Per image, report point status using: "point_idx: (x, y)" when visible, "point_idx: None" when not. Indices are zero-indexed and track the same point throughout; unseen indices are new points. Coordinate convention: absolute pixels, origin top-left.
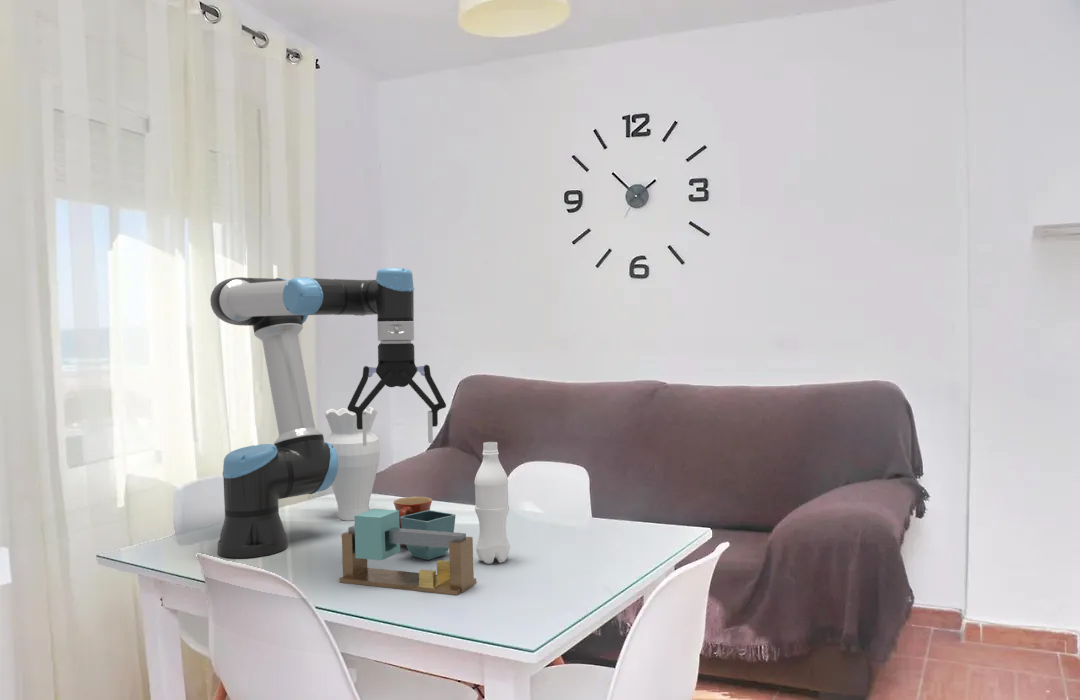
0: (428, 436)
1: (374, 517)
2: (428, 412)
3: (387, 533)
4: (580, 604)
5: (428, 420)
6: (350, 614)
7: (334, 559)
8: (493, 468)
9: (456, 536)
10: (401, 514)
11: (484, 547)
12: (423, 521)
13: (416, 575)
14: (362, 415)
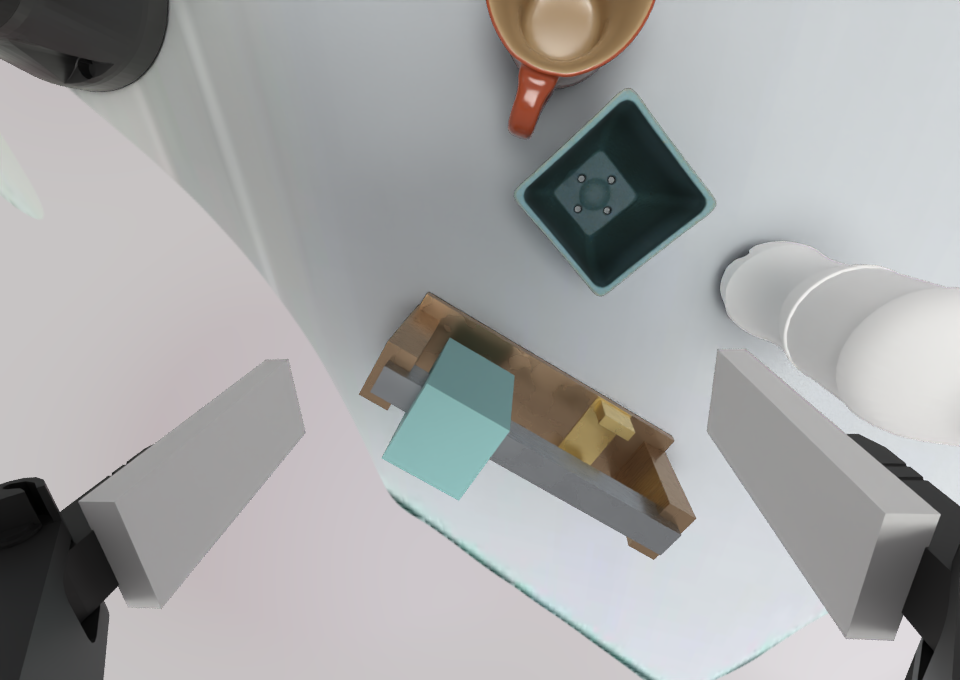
0: (730, 401)
1: (441, 490)
2: (847, 617)
3: None
4: None
5: (796, 521)
6: (436, 529)
7: (341, 160)
8: None
9: (651, 549)
10: (518, 131)
11: (743, 329)
12: (589, 287)
13: (550, 388)
14: (137, 599)
